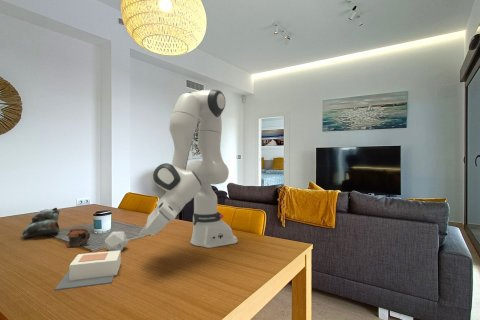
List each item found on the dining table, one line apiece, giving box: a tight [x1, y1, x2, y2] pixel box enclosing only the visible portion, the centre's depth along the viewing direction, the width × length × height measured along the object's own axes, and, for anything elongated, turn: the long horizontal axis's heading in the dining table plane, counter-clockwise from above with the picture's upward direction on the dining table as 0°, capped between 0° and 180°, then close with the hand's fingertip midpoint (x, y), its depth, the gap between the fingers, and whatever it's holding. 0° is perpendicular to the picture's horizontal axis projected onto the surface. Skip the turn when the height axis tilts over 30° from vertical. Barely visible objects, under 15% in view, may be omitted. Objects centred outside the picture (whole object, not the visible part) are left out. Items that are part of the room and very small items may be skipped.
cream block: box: [68, 250, 122, 281], centre depth 91 cm, size 5×10×14 cm
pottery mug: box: [65, 228, 91, 248], centre depth 120 cm, size 12×10×8 cm
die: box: [104, 231, 129, 252], centre depth 113 cm, size 8×9×10 cm
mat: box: [54, 270, 115, 291], centre depth 90 cm, size 16×20×1 cm
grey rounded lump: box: [20, 207, 60, 239], centre depth 134 cm, size 17×14×16 cm
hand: (140, 235), depth 96 cm, fingers closed
